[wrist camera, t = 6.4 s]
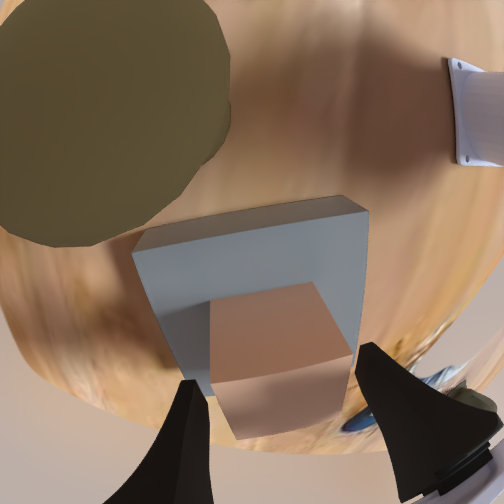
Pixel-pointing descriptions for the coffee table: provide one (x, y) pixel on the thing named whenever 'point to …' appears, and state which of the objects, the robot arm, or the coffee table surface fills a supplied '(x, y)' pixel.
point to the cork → (105, 113)
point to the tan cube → (277, 360)
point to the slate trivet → (252, 268)
